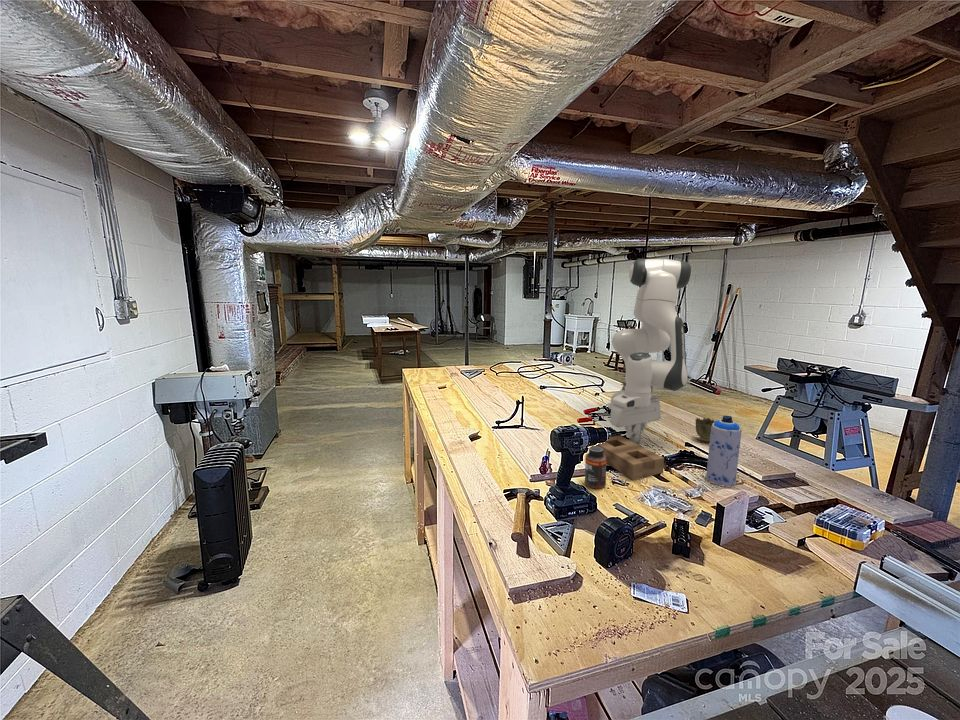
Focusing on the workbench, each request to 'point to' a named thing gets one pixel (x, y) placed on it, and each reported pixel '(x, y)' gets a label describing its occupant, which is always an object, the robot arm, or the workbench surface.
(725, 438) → the aerosol can
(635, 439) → the peg
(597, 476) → the supplement bottle
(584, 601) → the workbench surface
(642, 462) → the socket block
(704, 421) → the cup
